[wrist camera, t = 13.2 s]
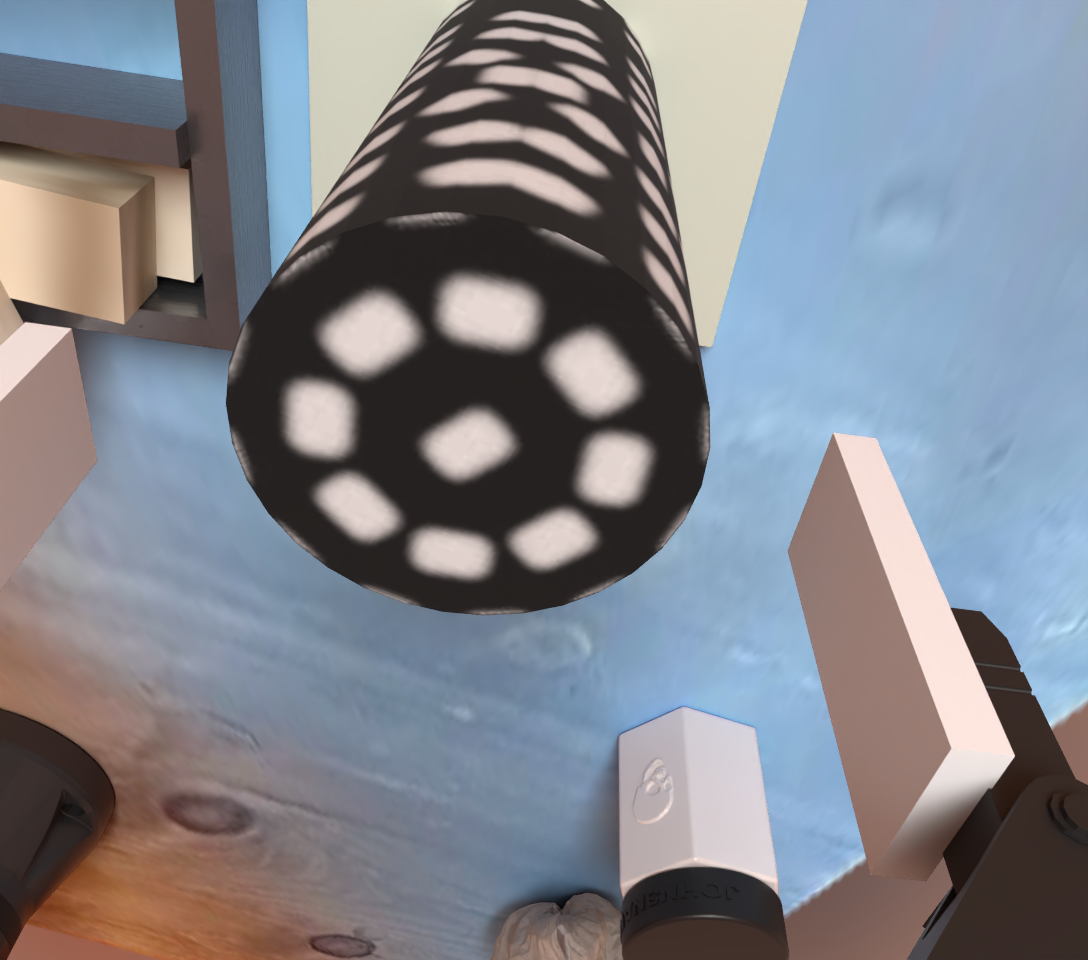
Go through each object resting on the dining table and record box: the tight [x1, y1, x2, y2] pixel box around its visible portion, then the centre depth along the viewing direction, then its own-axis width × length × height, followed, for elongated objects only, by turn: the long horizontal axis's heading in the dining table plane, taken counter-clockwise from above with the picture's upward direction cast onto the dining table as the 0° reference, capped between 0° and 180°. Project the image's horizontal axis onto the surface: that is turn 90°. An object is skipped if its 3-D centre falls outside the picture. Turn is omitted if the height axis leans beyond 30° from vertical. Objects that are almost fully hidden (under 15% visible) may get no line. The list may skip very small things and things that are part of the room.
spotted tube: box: [226, 0, 710, 615], centre depth 24 cm, size 8×8×20 cm
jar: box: [619, 707, 789, 960], centre depth 50 cm, size 9×8×12 cm
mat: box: [307, 0, 808, 347], centre depth 32 cm, size 16×16×1 cm
